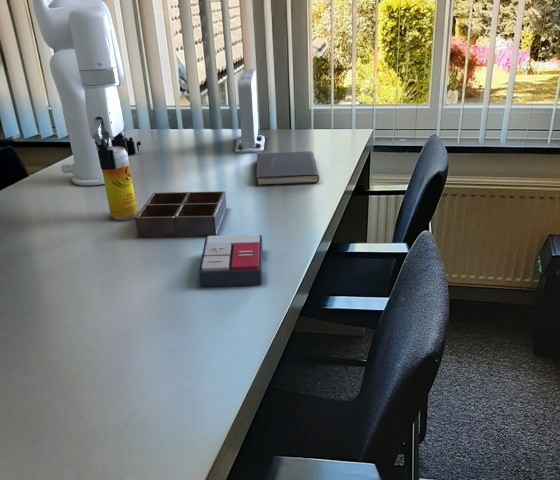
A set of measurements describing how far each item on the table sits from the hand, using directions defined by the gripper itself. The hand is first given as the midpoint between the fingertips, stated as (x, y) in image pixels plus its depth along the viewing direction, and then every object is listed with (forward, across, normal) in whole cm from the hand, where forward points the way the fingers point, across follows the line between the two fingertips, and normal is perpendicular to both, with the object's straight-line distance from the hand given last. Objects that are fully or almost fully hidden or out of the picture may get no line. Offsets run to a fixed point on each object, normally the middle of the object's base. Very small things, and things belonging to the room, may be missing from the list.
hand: (115, 163), depth 136 cm
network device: (+11, -65, +23) cm, 69 cm away
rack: (+12, +4, +15) cm, 20 cm away
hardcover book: (+12, -34, +36) cm, 50 cm away
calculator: (+13, +29, +29) cm, 43 cm away
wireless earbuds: (+11, -56, -13) cm, 58 cm away
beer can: (+12, -1, 0) cm, 12 cm away
